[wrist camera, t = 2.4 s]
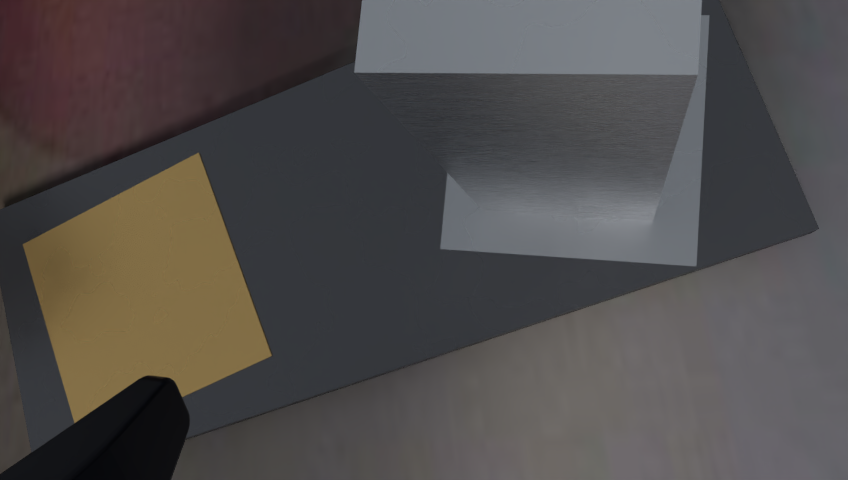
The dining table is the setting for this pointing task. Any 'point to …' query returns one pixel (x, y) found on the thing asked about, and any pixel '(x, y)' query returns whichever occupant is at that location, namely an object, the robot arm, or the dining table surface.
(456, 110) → the steel block
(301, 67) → the dining table surface
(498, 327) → the grey flat plate
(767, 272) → the dining table surface
